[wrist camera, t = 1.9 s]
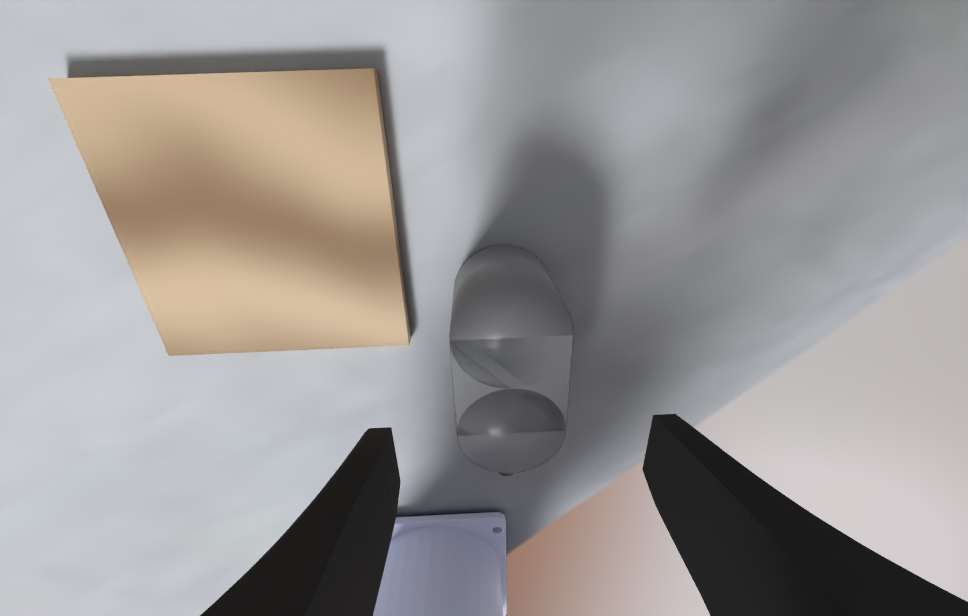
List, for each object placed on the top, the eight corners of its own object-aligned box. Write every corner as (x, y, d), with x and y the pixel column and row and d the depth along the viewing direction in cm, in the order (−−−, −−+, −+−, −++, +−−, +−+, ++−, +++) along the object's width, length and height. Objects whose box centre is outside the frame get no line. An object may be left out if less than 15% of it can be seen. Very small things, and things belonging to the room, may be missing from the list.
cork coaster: (410, 338, 17) (409, 344, 16) (178, 348, 17) (168, 355, 16) (377, 71, 13) (372, 68, 12) (66, 80, 13) (47, 78, 12)
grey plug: (543, 442, 20) (559, 512, 16) (464, 445, 20) (463, 517, 16) (551, 242, 15) (577, 277, 12) (450, 246, 15) (445, 282, 12)
